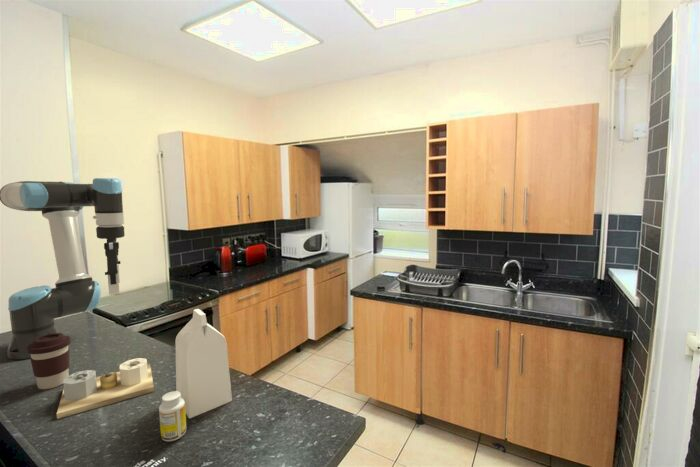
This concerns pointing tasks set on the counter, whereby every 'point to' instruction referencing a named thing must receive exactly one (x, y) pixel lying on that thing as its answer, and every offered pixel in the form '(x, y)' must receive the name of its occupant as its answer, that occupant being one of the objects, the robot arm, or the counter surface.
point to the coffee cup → (50, 359)
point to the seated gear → (80, 385)
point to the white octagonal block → (133, 372)
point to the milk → (202, 366)
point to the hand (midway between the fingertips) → (114, 288)
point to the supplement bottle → (172, 416)
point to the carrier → (105, 393)
